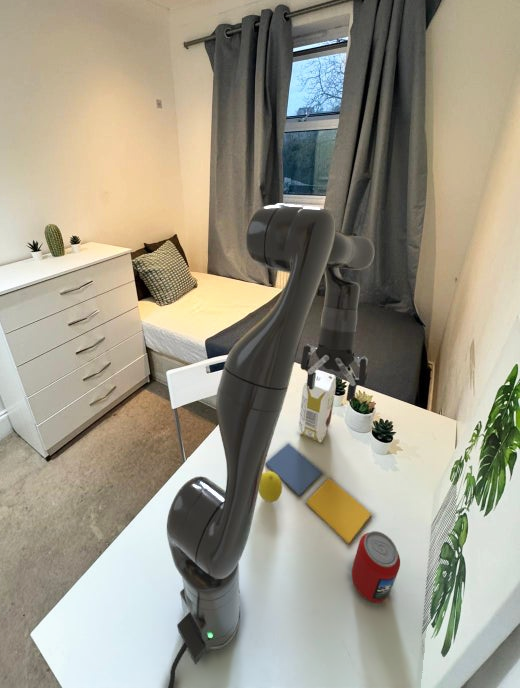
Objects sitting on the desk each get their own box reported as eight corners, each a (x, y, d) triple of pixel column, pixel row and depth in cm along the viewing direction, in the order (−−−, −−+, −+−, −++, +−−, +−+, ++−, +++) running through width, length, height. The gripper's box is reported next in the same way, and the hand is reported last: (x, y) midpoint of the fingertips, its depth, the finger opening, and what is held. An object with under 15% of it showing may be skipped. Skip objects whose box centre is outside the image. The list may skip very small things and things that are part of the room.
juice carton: (296, 435, 93) (301, 383, 85) (305, 414, 100) (311, 365, 92) (322, 446, 90) (330, 394, 82) (330, 424, 96) (339, 374, 88)
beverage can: (386, 614, 59) (400, 580, 53) (347, 589, 62) (356, 555, 57) (391, 574, 64) (404, 540, 59) (354, 554, 67) (364, 519, 62)
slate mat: (299, 496, 78) (299, 495, 78) (265, 464, 86) (265, 462, 85) (321, 473, 83) (322, 471, 83) (288, 444, 91) (288, 443, 90)
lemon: (280, 511, 75) (282, 489, 72) (256, 506, 76) (257, 485, 73) (281, 487, 80) (283, 466, 76) (258, 484, 81) (259, 462, 78)
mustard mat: (348, 544, 69) (349, 542, 68) (306, 503, 76) (306, 501, 76) (370, 515, 74) (371, 513, 73) (328, 479, 81) (329, 477, 81)
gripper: (301, 322, 74) (294, 390, 76) (369, 336, 67) (359, 410, 69) (311, 317, 80) (304, 380, 83) (374, 329, 73) (365, 397, 75)
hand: (329, 393), depth 76 cm, fingers open, 8 cm apart
